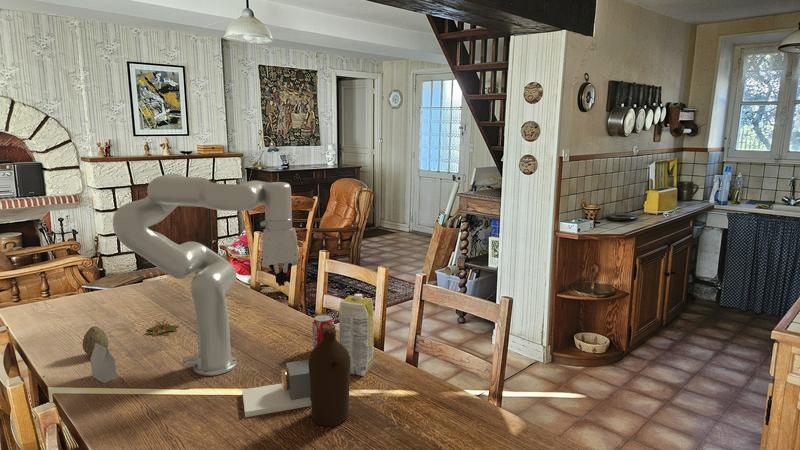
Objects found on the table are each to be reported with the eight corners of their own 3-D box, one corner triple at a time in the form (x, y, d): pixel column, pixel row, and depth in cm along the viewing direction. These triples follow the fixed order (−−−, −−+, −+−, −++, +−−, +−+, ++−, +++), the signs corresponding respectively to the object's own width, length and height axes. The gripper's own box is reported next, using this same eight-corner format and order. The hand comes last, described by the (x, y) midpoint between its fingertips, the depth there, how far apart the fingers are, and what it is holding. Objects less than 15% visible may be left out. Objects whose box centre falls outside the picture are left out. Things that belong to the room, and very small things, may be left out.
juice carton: (375, 366, 162) (375, 293, 158) (365, 378, 155) (365, 302, 150) (348, 362, 165) (347, 290, 160) (337, 373, 158) (336, 298, 153)
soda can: (330, 357, 168) (329, 322, 166) (309, 355, 170) (308, 320, 167) (337, 348, 175) (336, 314, 173) (317, 346, 177) (316, 312, 174)
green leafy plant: (185, 326, 194) (185, 314, 193) (169, 339, 182) (168, 327, 181) (155, 324, 195) (153, 313, 194) (136, 337, 183) (135, 325, 182)
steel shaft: (284, 394, 140) (283, 375, 139) (281, 385, 145) (281, 366, 144) (337, 386, 145) (337, 367, 144) (332, 377, 150) (332, 359, 149)
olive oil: (359, 415, 135) (359, 325, 131) (329, 433, 128) (327, 338, 123) (331, 401, 142) (330, 315, 137) (301, 417, 134) (298, 326, 129)
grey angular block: (104, 383, 150) (100, 351, 148) (92, 376, 154) (88, 345, 152) (116, 378, 153) (113, 346, 151) (105, 372, 157) (101, 341, 155)
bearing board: (245, 417, 134) (243, 386, 132) (242, 394, 145) (241, 366, 143) (347, 399, 143) (346, 370, 141) (337, 379, 154) (336, 352, 152)
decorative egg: (114, 353, 169) (111, 324, 167) (93, 362, 163) (90, 332, 161) (99, 349, 172) (96, 320, 170) (79, 357, 166) (75, 328, 164)
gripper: (253, 228, 146) (256, 291, 149) (306, 225, 151) (308, 286, 154) (251, 223, 152) (254, 283, 156) (302, 220, 157) (304, 278, 161)
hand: (281, 284), depth 155 cm, fingers closed
